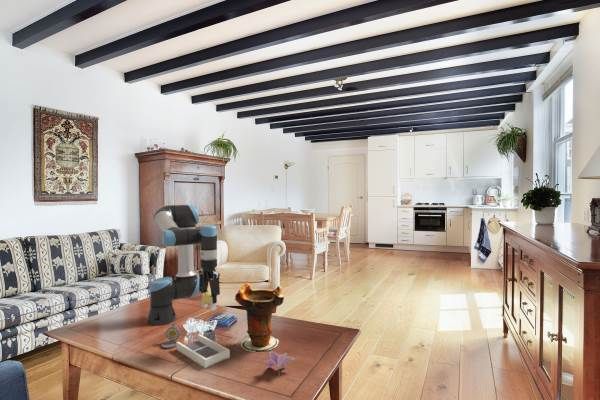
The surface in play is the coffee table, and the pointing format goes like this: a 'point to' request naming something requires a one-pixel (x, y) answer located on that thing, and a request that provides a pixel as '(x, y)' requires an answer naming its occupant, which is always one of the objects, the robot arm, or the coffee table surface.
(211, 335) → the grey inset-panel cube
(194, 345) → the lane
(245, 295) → the decorative vase
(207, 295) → the ball
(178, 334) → the pocket watch
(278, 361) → the lily
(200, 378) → the coffee table surface
